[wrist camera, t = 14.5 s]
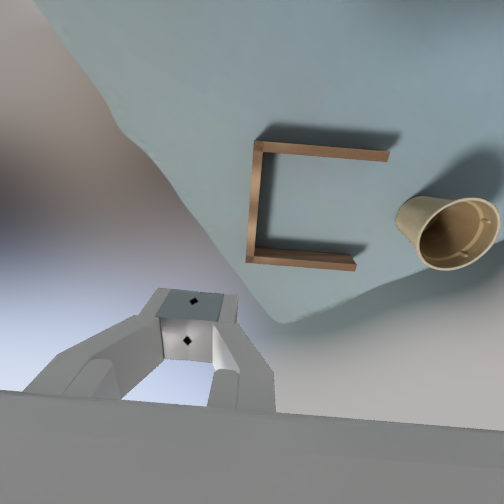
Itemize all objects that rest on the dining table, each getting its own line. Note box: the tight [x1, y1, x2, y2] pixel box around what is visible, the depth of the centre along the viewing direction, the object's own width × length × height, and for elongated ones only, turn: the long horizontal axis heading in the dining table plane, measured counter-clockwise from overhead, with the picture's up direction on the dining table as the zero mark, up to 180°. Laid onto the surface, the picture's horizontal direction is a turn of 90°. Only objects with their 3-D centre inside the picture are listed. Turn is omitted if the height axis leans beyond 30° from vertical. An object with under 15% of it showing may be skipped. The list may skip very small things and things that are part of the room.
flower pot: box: [396, 196, 501, 270], centre depth 33 cm, size 9×9×9 cm
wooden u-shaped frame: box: [246, 140, 390, 271], centre depth 35 cm, size 17×17×4 cm
